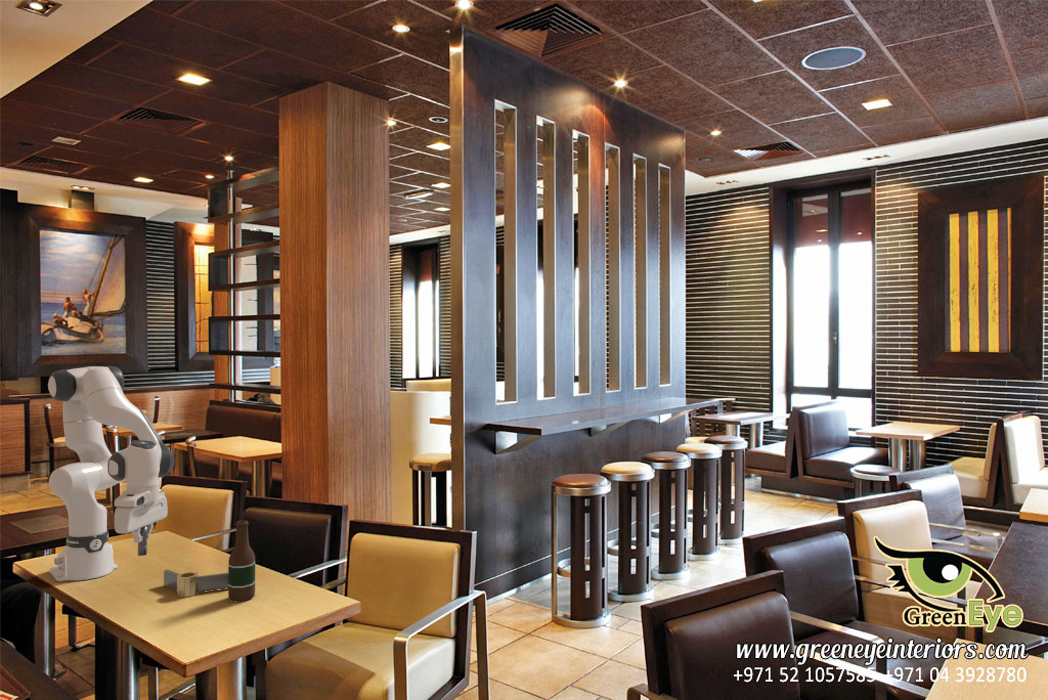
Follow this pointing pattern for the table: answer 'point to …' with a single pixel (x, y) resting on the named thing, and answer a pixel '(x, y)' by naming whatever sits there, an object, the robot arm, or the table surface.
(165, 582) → the hinge
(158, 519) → the robot arm
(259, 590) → the table surface
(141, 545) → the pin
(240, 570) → the beer bottle
